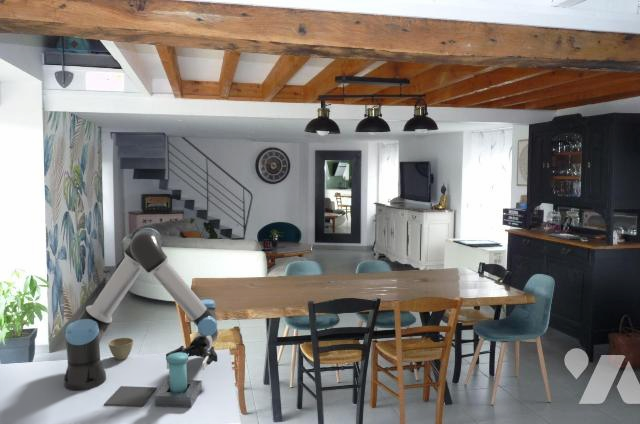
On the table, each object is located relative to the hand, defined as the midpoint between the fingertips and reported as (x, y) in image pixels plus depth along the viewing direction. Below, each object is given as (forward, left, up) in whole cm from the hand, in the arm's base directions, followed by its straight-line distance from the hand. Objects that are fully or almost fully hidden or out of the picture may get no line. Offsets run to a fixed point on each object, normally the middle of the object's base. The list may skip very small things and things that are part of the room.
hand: (185, 366), depth 206 cm
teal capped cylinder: (-1, -7, -9) cm, 12 cm away
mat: (-19, -7, -9) cm, 22 cm away
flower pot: (-38, +28, -10) cm, 48 cm away
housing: (-1, -7, -9) cm, 12 cm away
